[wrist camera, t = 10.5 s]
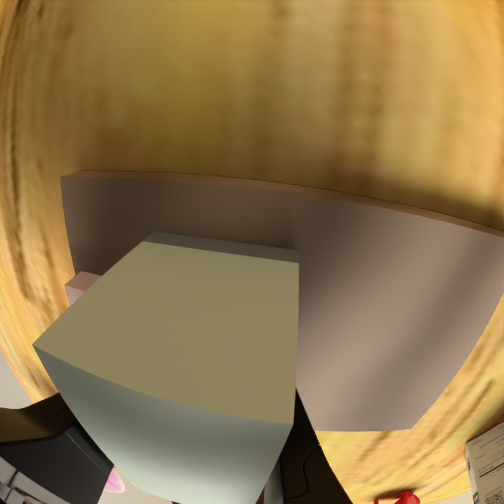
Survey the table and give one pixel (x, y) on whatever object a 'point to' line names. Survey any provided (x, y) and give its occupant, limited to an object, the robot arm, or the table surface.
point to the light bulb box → (487, 466)
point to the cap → (406, 498)
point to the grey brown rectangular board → (323, 278)
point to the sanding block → (184, 365)
